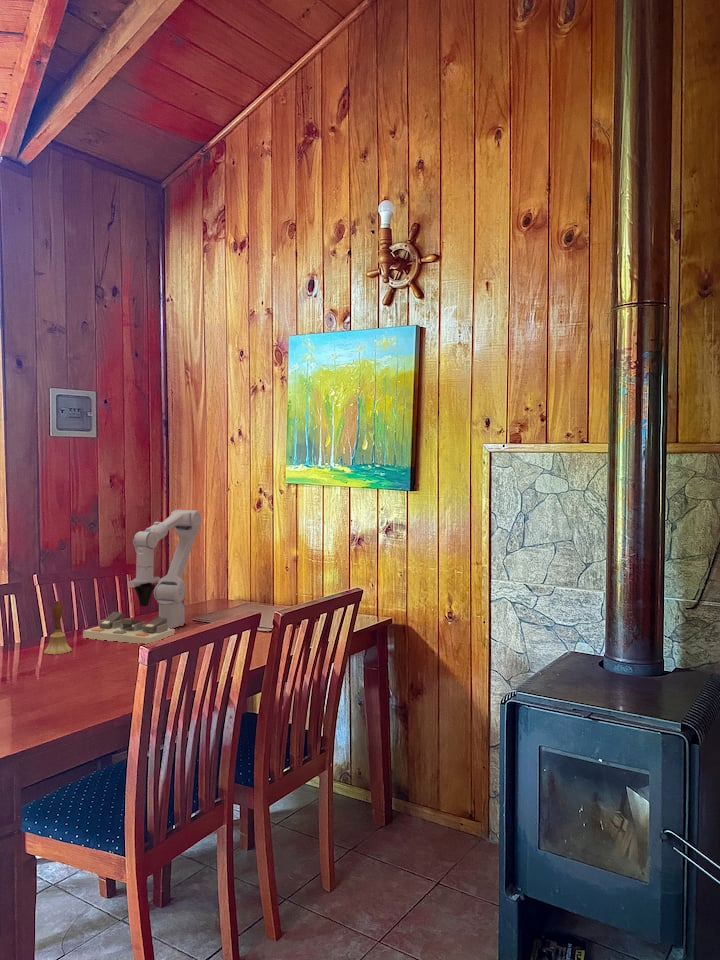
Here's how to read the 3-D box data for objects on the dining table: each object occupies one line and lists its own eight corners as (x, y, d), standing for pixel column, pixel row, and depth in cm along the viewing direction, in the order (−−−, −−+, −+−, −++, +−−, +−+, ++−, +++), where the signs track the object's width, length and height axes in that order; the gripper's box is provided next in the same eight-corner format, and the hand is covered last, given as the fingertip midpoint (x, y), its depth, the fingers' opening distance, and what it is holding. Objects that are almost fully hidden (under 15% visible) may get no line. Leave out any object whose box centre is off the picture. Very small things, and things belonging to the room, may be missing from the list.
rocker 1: (114, 615, 257) (113, 611, 257) (123, 616, 256) (122, 612, 255) (100, 628, 250) (98, 623, 250) (109, 629, 249) (108, 624, 248)
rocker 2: (157, 621, 251) (156, 616, 251) (167, 622, 250) (166, 617, 249) (143, 631, 244) (142, 626, 244) (153, 632, 243) (152, 627, 242)
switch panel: (110, 629, 259) (110, 616, 259) (174, 636, 250) (174, 622, 250) (83, 638, 246) (83, 624, 246) (149, 645, 237) (149, 631, 237)
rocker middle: (134, 625, 254) (135, 620, 254) (144, 626, 253) (145, 621, 253) (120, 623, 247) (121, 618, 247) (130, 624, 245) (131, 619, 246)
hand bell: (65, 655, 224) (65, 603, 224) (38, 654, 224) (38, 603, 224) (76, 648, 233) (76, 598, 232) (50, 648, 233) (50, 598, 232)
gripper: (148, 563, 258) (147, 601, 258) (121, 567, 244) (120, 608, 244) (165, 564, 256) (164, 603, 256) (139, 569, 242) (138, 609, 242)
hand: (144, 605), depth 250 cm, fingers closed
